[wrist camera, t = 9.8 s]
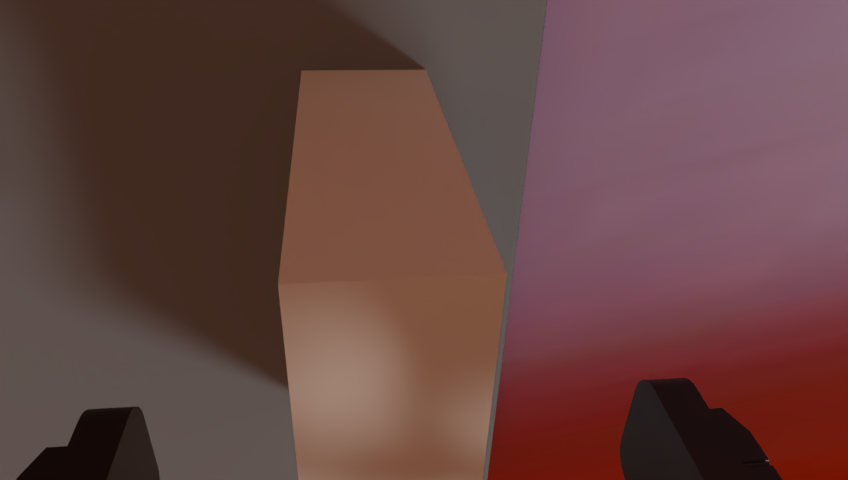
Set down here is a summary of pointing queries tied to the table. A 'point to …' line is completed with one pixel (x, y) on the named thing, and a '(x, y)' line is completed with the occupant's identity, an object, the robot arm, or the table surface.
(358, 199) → the beige flat block
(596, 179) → the table surface
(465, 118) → the mat
